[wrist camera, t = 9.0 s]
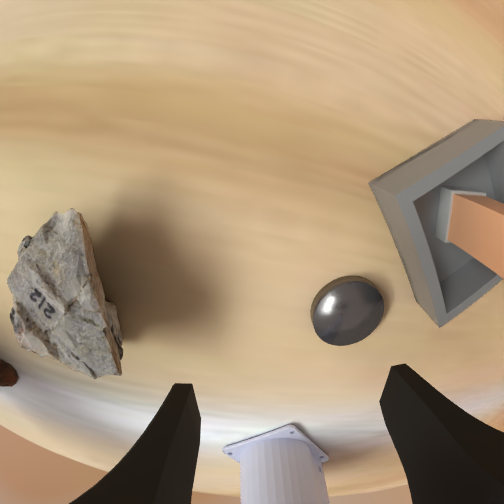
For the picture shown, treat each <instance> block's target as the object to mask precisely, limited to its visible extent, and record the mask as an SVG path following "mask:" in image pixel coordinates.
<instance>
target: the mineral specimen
mask: <svg viewBox="0 0 504 504" xmlns="http://www.w3.org/2000/svg"><path fill="white" fill-rule="evenodd" d="M18 257H19V259H18V262H17V264H16V266H15V268H14V269H13V271H12V272H11V273H10V275H9V277H8V279H7V284H8V286H9V289H10V291H11V293H12V294H13V300H14V307H13V308H12V310H11V313H10V319H11V322H12V324H13V327H14V332H15V337H16V339H17V341H18V342H19V344H20V346H21V347H22V348H24V349H26V350H28V351H32V352H34V353H37V354H38V355H40V356H41V357H44V356H47V357H50V358H52V359H55V360H59V361H60V362H61V363H63V364H65V365H67V366H68V367H70V368H71V369H73V370H75V371H80V372H83V373H85V374H86V375H88V376H90V377H92V378H94V379H96V378H98V377H101V376H104V375H119V376H121V375H122V370H121V362H120V360H121V359H122V357H123V349H122V347H121V345H122V339H123V336H122V334H121V331H120V328H121V327H120V325H119V320H118V317H117V307H116V306H115V304H114V303H113V302H107V301H105V294H104V292H103V287H102V284H101V280H100V277H99V275H98V272H97V269H96V262H95V259H94V254H93V248H92V242H91V238H90V234H89V230H88V226H87V224H86V222H85V221H84V219H83V217H82V214H80V213H79V212H77V211H76V210H74V209H72V208H71V209H69V210H68V211H67V212H66V213H64V214H60V213H58V212H57V211H56V212H55V213H53V215H52V216H51V218H50V219H49V221H48V222H47V223H45V224H44V225H43V226H42V227H41V228H40V229H39V231H38V232H37V233H36V235H35V236H33V237H31V236H26V237H25V238H24V239H23V240H22V242H21V244H20V246H19V249H18Z"/></svg>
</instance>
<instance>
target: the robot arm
mask: <svg viewBox="0 0 504 504" xmlns="http://www.w3.org/2000/svg"><path fill="white" fill-rule="evenodd" d="M379 402H380V406H381V410H382V413H383V417H384V420H385V424H386V426H387V429H388V431H389V434H390V436H391V438H392V441H393V443H394V446H395V448H396V450H397V453H398V455H399V458H400V460H401V462H402V465H403V467H404V470H405V473H406V477H407V480H408V485H409V489H410V493H411V498H412V503H413V504H504V432H501V431H499V430H497V429H495V428H493V427H491V426H489V425H487V424H485V423H483V422H482V421H480V420H478V419H476V418H475V417H473V416H471V415H470V414H468V413H467V412H465V411H464V410H463V409H461V408H460V407H458V406H457V405H455V404H454V403H453V402H451V401H450V400H449V399H448V398H446V397H445V396H444V395H442V394H441V393H440V392H439V391H438V390H436V389H435V388H434V387H433V386H432V385H430V384H429V383H428V382H427V381H426V380H424V379H423V378H422V377H421V376H420V375H419V374H417V373H416V372H415V371H414V370H413V369H411V368H410V367H409V366H408V365H406V364H400V365H395V366H391V369H390V372H389V375H388V378H387V381H386V384H385V387H384V390H383V393H382V396H381V399H380V401H379ZM200 429H201V417H200V413H199V409H198V405H197V401H196V397H195V393H194V389H193V385H192V384H180V383H175V384H174V385H173V386H172V388H171V390H170V392H169V393H168V395H167V397H166V399H165V400H164V402H163V404H162V405H161V407H160V409H159V410H158V412H157V413H156V415H155V416H154V418H153V419H152V421H151V422H150V424H149V425H148V427H147V428H146V430H145V431H144V433H143V434H142V435H141V436H140V438H139V439H138V440H137V442H136V443H135V444H134V446H133V447H132V448H131V449H130V450H129V452H128V453H127V454H126V455H125V456H124V457H123V458H122V460H121V461H120V462H119V463H118V464H117V465H116V466H115V467H114V468H113V469H112V470H111V471H110V472H109V473H108V474H107V475H105V476H104V477H103V478H102V479H101V480H100V481H99V482H98V483H97V484H96V485H94V486H93V487H92V488H90V489H89V490H88V491H86V492H85V493H83V494H82V495H81V496H79V497H78V498H77V499H75V500H74V501H72V502H71V503H69V504H191V496H192V488H193V482H194V476H195V470H196V464H197V457H198V451H199V445H200ZM223 452H224V453H225V454H227V455H228V456H230V457H231V458H233V459H234V460H236V461H237V462H239V463H240V489H241V504H330V502H329V497H328V492H327V487H326V482H325V477H324V472H323V467H322V463H324V462H326V461H328V460H329V456H328V455H326V454H325V453H324V452H323V451H322V450H321V449H320V448H318V447H317V446H316V445H315V444H314V443H313V442H312V441H311V440H310V439H308V438H307V437H306V436H305V435H304V434H303V433H302V432H301V431H300V430H299V429H298V428H296V427H295V426H294V425H287V426H284V427H281V428H279V429H276V430H273V431H271V432H268V433H265V434H262V435H260V436H257V437H254V438H251V439H248V440H245V441H242V442H239V443H236V444H232V445H229V446H226V447H223Z"/></svg>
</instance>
